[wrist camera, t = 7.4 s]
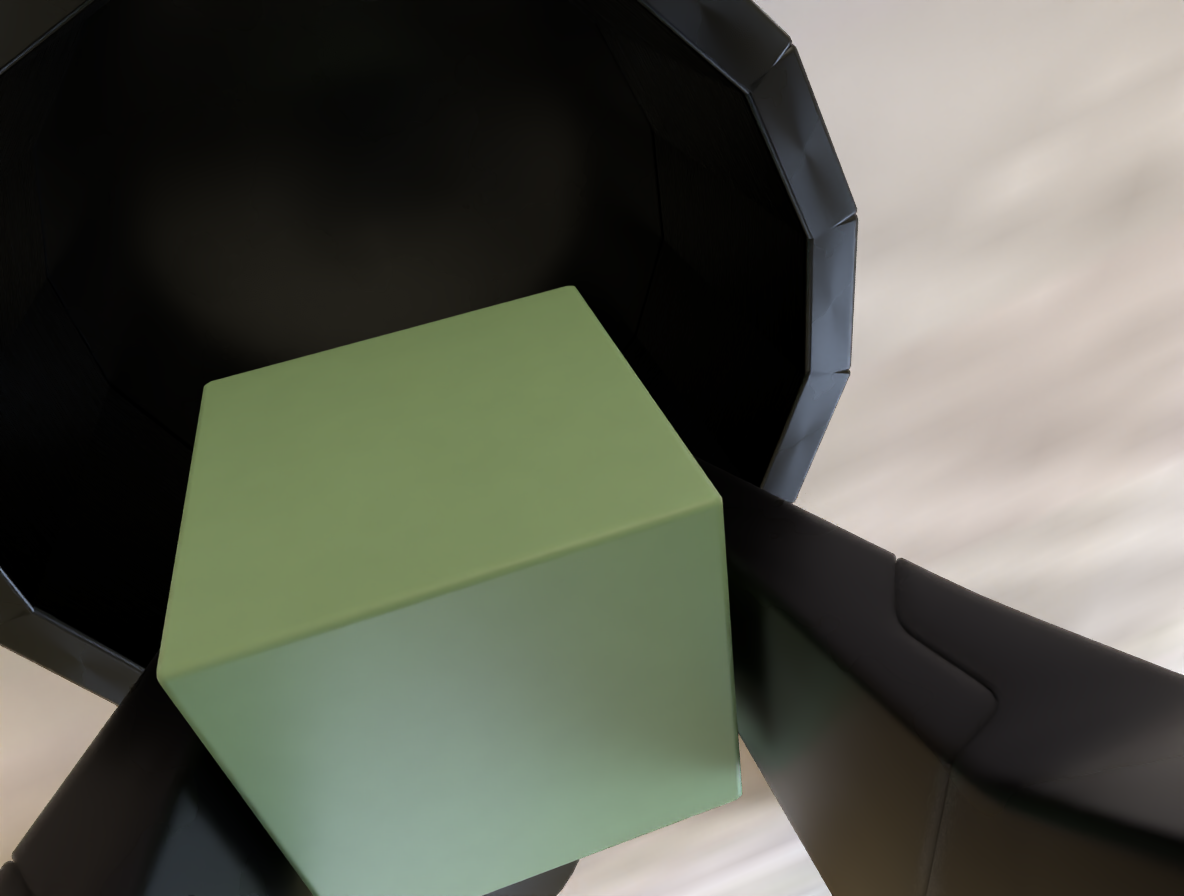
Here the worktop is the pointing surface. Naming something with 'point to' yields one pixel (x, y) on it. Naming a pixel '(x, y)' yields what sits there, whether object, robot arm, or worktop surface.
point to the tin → (380, 242)
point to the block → (453, 604)
